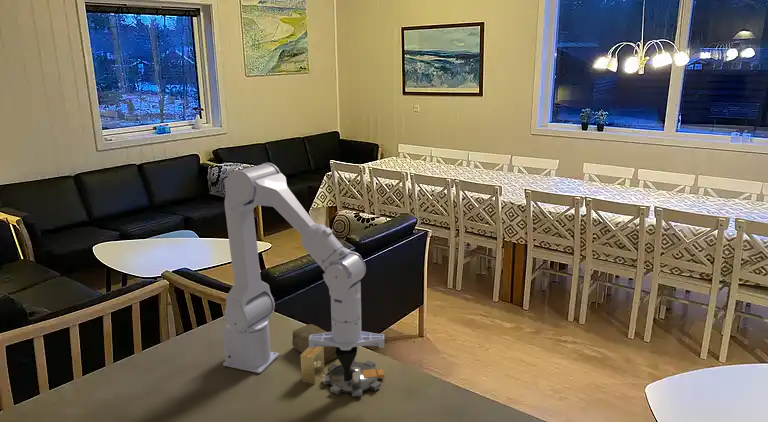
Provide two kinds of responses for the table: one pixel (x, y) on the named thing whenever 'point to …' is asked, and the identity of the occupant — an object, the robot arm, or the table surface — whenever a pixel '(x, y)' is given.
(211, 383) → the table surface
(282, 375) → the table surface
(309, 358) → the tan rectangular block
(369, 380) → the sprocket
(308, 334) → the stone block
